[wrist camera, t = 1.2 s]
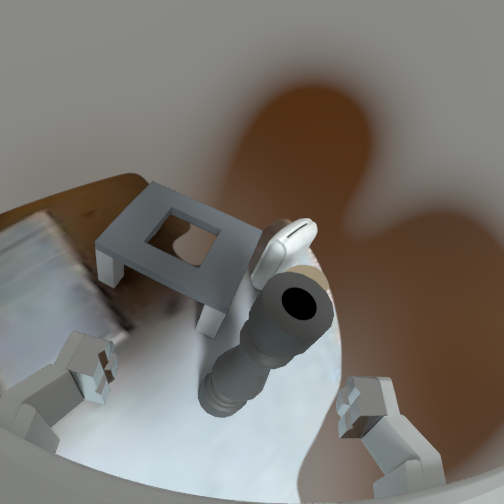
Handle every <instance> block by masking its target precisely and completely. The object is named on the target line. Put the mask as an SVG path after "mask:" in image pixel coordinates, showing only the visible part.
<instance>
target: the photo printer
mask: <svg viewBox="0 0 504 504" xmlns="http://www.w3.org/2000/svg"><path fill="white" fill-rule="evenodd" d="M316 234H317V226H316V223H314V222H313V221H311V219H308V218H304V219H299V220H297V221H294V222H292V223H291V224H289V225H287V226H286V227H284V228H283V229H282V230H280V231H279V232H278V233H276V234H275V235H274V236H273V237H272V238H271V240H270V241H269V243H268V244H267V246H266V248H265V250H264V252H263V254H262V256H261V258H260V259H259V261H258V263H257V265H256V267H255V269H254V271H253V273H252V275H251V277H250V279H251V282H252V284H253V286H254V287H255V288H257V289H258V290H260V291H261V290H262V289H263V287H264V285H265V284H266V282H267V280H268V279H270V278H271V277H273V276H274V275H276V274H277V273H283V272H285V271H287V270H288V269H289V268H291V267H294V266H296V265H297V264H298V262H299V261H300V259H301V258H302V256H303V255H304V253H305V252H306V250H307V248H308V247H309V245H310V244H311V242H312V240H313V239H314V238H315V236H316Z"/></svg>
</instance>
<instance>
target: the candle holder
mask: <svg viewBox="0 0 504 504" xmlns="http://www.w3.org/2000/svg"><path fill="white" fill-rule="evenodd" d="M333 317H334V312H333V305H332V302H331V300H330V298H329V296H328V294H327V293H326V291H325V290H324V289H323V288H322V287H321V286H320V285H319V284H318V283H317V282H316V281H315V280H313V279H311V278H309V277H307V276H305V275H304V274H300V273H295V272H290V271H289V272H283V273H277V274H276V275H274V276H273V277H271V278H270V279H268V280H267V282H266V284H265V285H264V287H263V289H262V290H261V292H260V294H259V295H258V297H257V299H256V300H255V302H254V304H253V306H252V308H251V310H250V312H249V320H247V321H246V322H245V324H244V326H243V328H242V330H241V331H240V345H238V346H236V347H234V348H232V349H230V350H229V351H227V352H225V353H224V354H222V355H221V356H220V357H218V359H217V360H216V362H215V364H214V366H213V368H212V372H211V373H209V374H208V375H207V376H206V378H205V379H204V381H203V383H202V384H201V386H200V388H199V391H198V399H199V402H200V405H201V407H202V408H203V409H204V410H205V411H206V412H207V413H209V414H211V415H213V416H215V417H223V418H224V417H228V416H231V415H233V414H234V413H236V412H237V411H238V410H240V409H241V408H242V407H243V406H244V405H245V404H246V402H247V400H251V399H253V398H255V397H256V396H257V395H258V394H259V393H260V392H261V391H262V390H263V387H264V385H265V383H266V380H267V377H268V375H269V372H270V369H276V368H280V367H283V366H285V365H286V364H287V363H289V362H290V361H291V360H292V359H293V358H294V356H296V355H299V354H302V353H304V352H305V351H306V350H307V349H308V348H309V347H310V346H311V345H313V344H314V343H315V342H316V341H317V340H318V339H319V338H320V337H321V336H322V335H323V334H324V333H325V332H326V331H327V330H328V329H329V328H330V327H331V324H332V321H333Z"/></svg>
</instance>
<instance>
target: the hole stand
mask: <svg viewBox="0 0 504 504" xmlns="http://www.w3.org/2000/svg"><path fill="white" fill-rule="evenodd" d="M170 214H171V215H174V216H176V217H178V218H180V219H182V220H184V221H187V222H189V223H191V224H193V225H195V226H197V227H199V228H202V229H204V230H206V231H208V232H210V233H213V234H215V235H217V236H218V237H217V238H216V240H215V242H214V243H213V245H212V247H211V248H210V250H209V252H208V254H207V255H206V257H205V259H204V260H203V262H202V264H201V266H200V267H199V268H197V267H195V266H193V265H190V264H188V263H186V262H184V261H182V260H180V259H178V258H176V257H174V256H172V255H170V254H168V253H166V252H163V251H161V250H159V249H157V248H155V247H153V246H151V245H149V244H147V243H148V242H149V240H150V239H151V238H152V237H153V236H154V235H155V234H156V233H157V231H158V230H159V229H160V228H161V226H162V224H163V223H164V222H165V220H166V219H167V218H168V217H169V215H170ZM262 232H263V231H262V230H260V229H257V228H255V227H253V226H251V225H249V224H247V223H245V222H242V221H240V220H238V219H236V218H234V217H232V216H229V215H227V214H225V213H223V212H221V211H218V210H216V209H214V208H212V207H209V206H207V205H205V204H203V203H201V202H198V201H196V200H194V199H192V198H189V197H187V196H185V195H183V194H181V193H178V192H176V191H174V190H171V189H169V188H167V187H165V186H162V185H160V184H158V183H156V182H153V181H152V182H151V183H150V184H149V185H148V186H147V187H146V188H145V189H144V190H143V191H142V192H141V193H140V194H139V195H138V196H137V197H136V198H135V199H134V200H133V201H132V202H131V203H130V204H129V205H128V206H127V207H126V209H125V210H124V211H123V212H122V213H121V214H120V215H119V216H118V217H117V218H116V219H115V220H114V221H113V222H112V223H111V224H110V225H109V226H108V228H107V229H106V230H105V231H104V232H103V233H102V234H101V235H100V236H99V237H98V239H97V240H96V241H95V250H96V261H97V270H98V279H99V281H101V282H103V283H105V284H106V285H108V286H110V287H112V288H115V287H116V285H117V284H118V283H119V281H120V280H121V279H122V277H123V276H124V265H126V266H128V267H130V268H132V269H134V270H136V271H138V272H140V273H142V274H144V275H146V276H148V277H150V278H152V279H153V280H155V281H157V282H159V283H161V284H163V285H165V286H167V287H169V288H171V289H174V290H176V291H178V292H180V293H182V294H184V295H186V296H188V297H190V298H192V299H194V300H196V301H198V302H200V303H203V304H205V305H204V308H203V310H202V313H201V316H200V318H199V321H198V324H197V327H196V329H195V330H196V331H198V332H200V333H202V334H204V335H206V336H209V337H211V338H213V339H214V337H215V335H216V333H217V331H218V329H219V327H220V325H221V323H222V321H223V319H224V317H225V315H226V313H227V311H228V309H229V307H230V305H231V303H232V300H233V298H234V296H235V293H236V291H237V289H238V287H239V284H240V282H241V280H242V278H243V275H244V273H245V271H246V268H247V266H248V264H249V262H250V259H251V257H252V255H253V252H254V250H255V248H256V246H257V243H258V241H259V239H260V236H261V234H262Z"/></svg>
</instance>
